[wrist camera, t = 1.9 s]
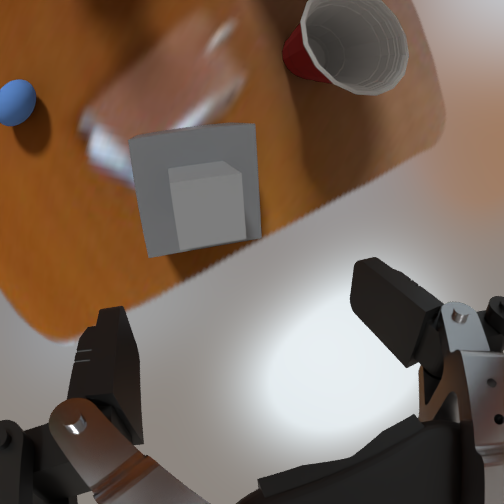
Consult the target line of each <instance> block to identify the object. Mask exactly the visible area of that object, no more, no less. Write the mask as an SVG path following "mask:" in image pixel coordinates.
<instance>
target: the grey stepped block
mask: <svg viewBox="0 0 504 504" xmlns="http://www.w3.org/2000/svg"><path fill="white" fill-rule="evenodd" d="M128 141H129V149H130V157H131V164H132V170H133V177H134V183H135V189H136V195H137V201H138V207H139V212H140V217H141V223H142V228H143V233H144V238H145V242H146V247H147V252H148V256H149V258H152V257H157V256H163V255H168V254H174V253H179V252H185V251H190V250H196V249H202V248H207V247H213V246H219V245H225V244H230V243H236V242H242V241H248V240H254V239H259V238H262V237H261V218H260V200H259V182H258V165H257V147H256V131H255V124H251V123H222V124H212V125H203V126H194V127H186V128H179V129H172V130H165V131H159V132H153V133H147V134H141V135H137V136H135V137H133V138H131V139H129V140H128Z"/></svg>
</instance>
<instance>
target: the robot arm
mask: <svg viewBox="0 0 504 504" xmlns="http://www.w3.org/2000/svg"><path fill="white" fill-rule="evenodd" d="M350 304H351V307H352V310H353V312H354V313H355V314H356V315H357V316H358V317H359V318H360V319H361V320H362V321H363V322H364V324H365V325H366V326H367V327H368V328H369V329H370V330H371V331H372V332H373V333H374V334H375V335H376V336H377V337H378V338H379V339H380V340H381V342H383V344H384V345H385V346H386V347H387V348H388V349H389V350H390V351H391V352H392V353H393V354H394V355H395V356H396V357H397V359H398V360H399V361H400V362H401V363H402V364H403V365H404V366H405V367H406V368H408V367H410V366H412V365H414V364H416V363H418V362H419V363H420V364H421V366H420V368H419V373H418V374H419V417H418V418H417V417H416V416H415V415H414V414H413V415H412V416H410V417H408V418H406V419H405V420H403V421H401V422H399V423H397V424H395V425H394V426H392V427H390V428H388V429H386V430H384V431H382V432H381V433H380V434H379V435H378V436H377V437H376V438H374V439H373V440H372V441H371V442H370V443H368V444H367V445H366V446H365V447H364V448H362V449H361V450H360V451H359V452H357V453H356V454H355V455H353V456H352V457H350V458H346V459H341V460H335V461H330V462H323V463H316V464H309V465H302V466H299V467H296V468H293V469H290V470H287V471H284V472H280V473H277V474H274V475H270V476H267V477H263V478H259V479H258V487H259V489H258V490H256V491H254V492H252V493H250V494H248V495H247V496H246V497H244V498H242V499H241V500H240V501H239V502H237V503H236V504H504V353H503V350H504V297H501V296H495V297H492V298H491V299H490V301H489V304H488V307H487V309H486V310H485V311H479V312H476V311H475V310H474V309H473V308H471V307H470V306H468V305H466V304H464V303H460V302H448V303H446V304H443V303H442V302H441V301H439V300H438V299H437V298H435V297H434V296H433V295H432V294H430V293H429V292H427V291H426V290H425V289H424V288H422V287H421V286H418V284H417V283H415V282H414V281H413V280H412V281H411V279H410V278H409V277H407V276H406V275H404V274H403V273H402V272H400V271H397V270H395V269H392V268H391V267H389V266H388V265H387V264H385V263H384V262H383V261H381V260H380V259H378V258H376V257H373V258H368V259H364V260H360V261H357V262H356V263H355V265H354V270H353V278H352V286H351V294H350ZM74 361H75V363H74V365H73V370H72V374H71V379H70V385H69V391H68V396H67V400H66V401H64V402H62V403H60V404H59V405H58V406H57V407H56V408H55V409H54V410H53V412H52V413H51V415H50V419H49V423H47V424H44V425H41V426H38V427H35V428H32V429H29V430H26V431H23V430H22V429H21V428H20V426H19V425H18V424H17V423H15V422H13V421H10V420H2V421H0V504H78V503H77V495H79V494H82V493H85V492H89V491H93V493H94V495H93V496H94V499H95V500H96V502H97V503H98V504H210V503H209V502H207V501H206V500H204V499H203V498H202V497H200V496H199V495H197V494H196V493H195V492H193V491H192V490H191V489H189V488H188V487H187V486H185V485H184V484H183V483H182V482H180V481H179V480H178V479H176V478H175V477H174V476H173V475H172V474H170V473H169V472H168V471H167V470H165V469H164V468H163V467H162V466H161V465H159V464H158V463H157V462H156V461H155V460H153V459H152V458H151V457H149V456H148V455H146V456H145V455H143V454H142V453H141V452H140V451H139V450H138V449H136V447H135V446H134V445H140V444H144V440H143V428H142V413H141V392H140V359H139V353H138V348H137V344H136V341H135V339H134V336H133V333H132V330H131V327H130V324H129V321H128V318H127V315H126V312H125V309H124V307H123V306H118V307H112V308H105V309H100V311H99V315H98V319H97V324H96V326H92V327H88V328H87V329H86V330H85V332H84V333H83V334H82V336H81V337H80V338H79V343H78V347H77V353H76V355H75V360H74Z"/></svg>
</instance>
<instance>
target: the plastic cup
mask: <svg viewBox="0 0 504 504" xmlns="http://www.w3.org/2000/svg"><path fill="white" fill-rule="evenodd" d="M282 55H283V61H284V63H285V65H286V67H287V68H288V69H289V70H290V71H291V72H292V73H293V74H294V75H296V76H299V77H301V78H304V79H309V80H314V81H318V82H325V83H331V84H335V85H337V86H339V87H341V88H343V89H346V90H348V91H350V92H352V93H354V94H356V95H376V96H377V95H379V94H382V93H384V92H386V91H388V90H391V89H393V88H394V87H395V86H396V85H397V83H398V82H399V81H400V80H401V78H402V77H403V76H404V75H405V71H406V66H407V62H408V58H409V54H408V46H407V39H406V35H405V33H404V31H403V29H402V27H401V25H400V23H399V21H398V19H397V17H396V16H395V14H394V13H393V12H392V11H391V10H390V9H389V8H388V7H387V6H386V5H385V4H384V3H383V2H382V1H381V0H308V1H307V3H306V6H305V9H304V12H303V15H302V18H301V22H300V24H299V25H298V26H297V27H296V29H295V30H294V31H293V32H292V34H291V36H290V37H289V38H288V39H287V40H286V42H285V44H284V47H283V51H282Z"/></svg>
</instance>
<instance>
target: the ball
mask: <svg viewBox="0 0 504 504" xmlns="http://www.w3.org/2000/svg"><path fill="white" fill-rule="evenodd" d="M35 103H36V93H35V90H34V88H33V86H32V85H31V84H30V83H29V82H27V81H25V80H13V81H11V82H9V83H7V84H6V85H4V86H3V87H2V88H1V89H0V123H2V124H3V125H6V126H15V125H19V124H21V123H22V122H24V121H25V120H26V119H27V118H28V117H29V116H30V115H31V113H32V112H33V110H34V107H35Z"/></svg>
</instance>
